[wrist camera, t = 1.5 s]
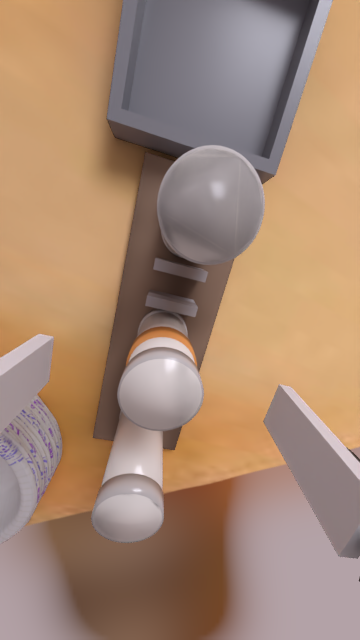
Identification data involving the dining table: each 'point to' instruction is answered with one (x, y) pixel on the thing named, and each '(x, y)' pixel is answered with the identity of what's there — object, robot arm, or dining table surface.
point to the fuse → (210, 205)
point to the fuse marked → (161, 375)
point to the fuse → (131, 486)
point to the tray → (213, 74)
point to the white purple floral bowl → (26, 464)
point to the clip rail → (156, 296)
